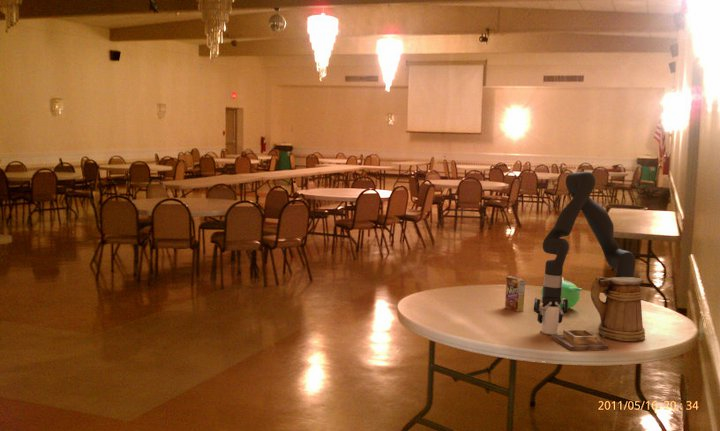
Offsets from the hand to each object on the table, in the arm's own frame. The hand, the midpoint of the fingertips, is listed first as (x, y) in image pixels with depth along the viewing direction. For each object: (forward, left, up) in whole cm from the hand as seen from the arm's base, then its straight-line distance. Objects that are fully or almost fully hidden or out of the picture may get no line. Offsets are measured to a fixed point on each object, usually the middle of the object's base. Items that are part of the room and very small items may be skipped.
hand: (549, 322), depth 293 cm
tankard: (-27, +6, -5) cm, 28 cm away
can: (0, 0, -5) cm, 5 cm away
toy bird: (-25, -40, -5) cm, 47 cm away
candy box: (-1, -39, -5) cm, 39 cm away
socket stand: (-5, +16, -4) cm, 17 cm away
